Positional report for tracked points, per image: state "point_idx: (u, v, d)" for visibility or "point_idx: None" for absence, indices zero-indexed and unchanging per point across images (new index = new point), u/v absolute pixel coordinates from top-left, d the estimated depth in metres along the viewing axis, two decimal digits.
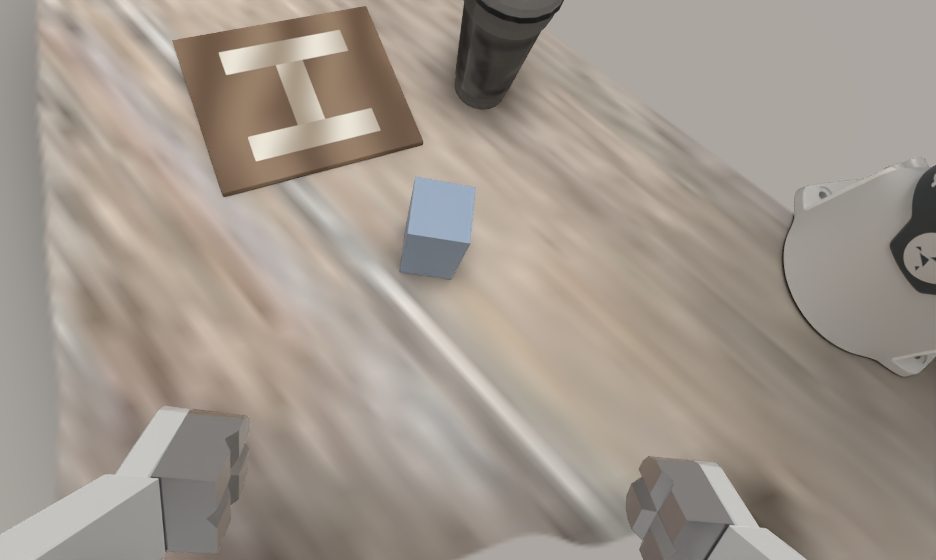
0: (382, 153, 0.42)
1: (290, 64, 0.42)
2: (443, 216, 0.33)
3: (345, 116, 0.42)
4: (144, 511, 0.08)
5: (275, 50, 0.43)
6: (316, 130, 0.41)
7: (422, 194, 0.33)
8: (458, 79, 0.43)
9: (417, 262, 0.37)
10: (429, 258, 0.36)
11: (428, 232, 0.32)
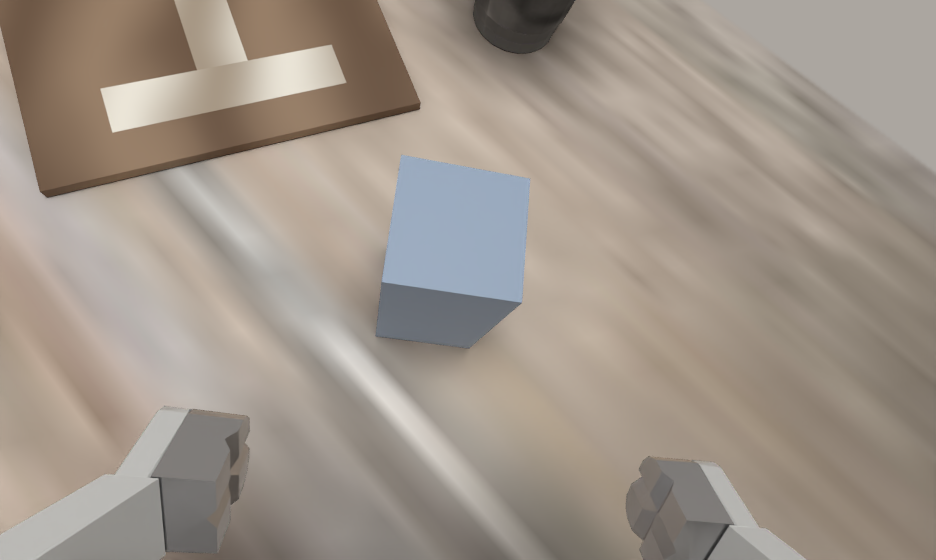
0: (349, 122, 0.24)
1: None
2: (461, 242, 0.15)
3: (284, 57, 0.24)
4: (144, 511, 0.08)
5: None
6: (230, 79, 0.23)
7: (415, 192, 0.15)
8: None
9: (406, 325, 0.19)
10: (431, 321, 0.18)
11: (429, 279, 0.14)
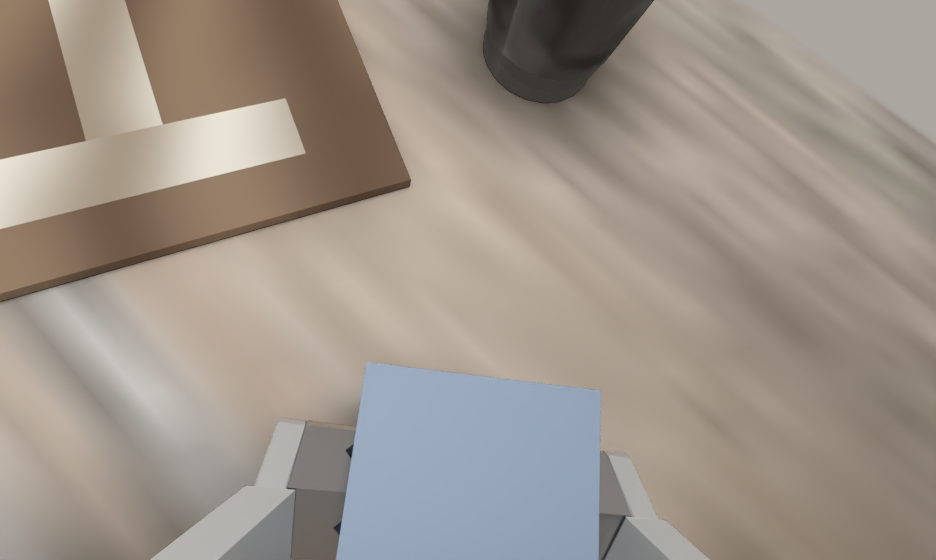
0: (308, 211, 0.17)
1: None
2: (479, 540, 0.08)
3: (217, 118, 0.17)
4: (282, 521, 0.08)
5: None
6: (135, 153, 0.16)
7: (392, 439, 0.08)
8: (495, 31, 0.18)
9: None
10: None
11: None
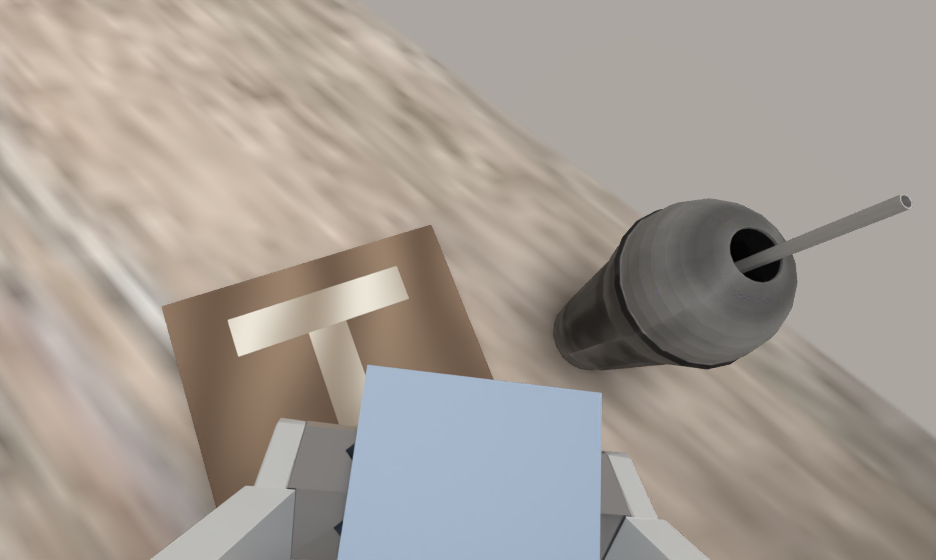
0: None
1: (329, 329, 0.30)
2: (481, 543, 0.08)
3: None
4: (282, 521, 0.08)
5: (308, 308, 0.30)
6: None
7: (393, 442, 0.08)
8: (565, 344, 0.31)
9: None
10: None
11: None
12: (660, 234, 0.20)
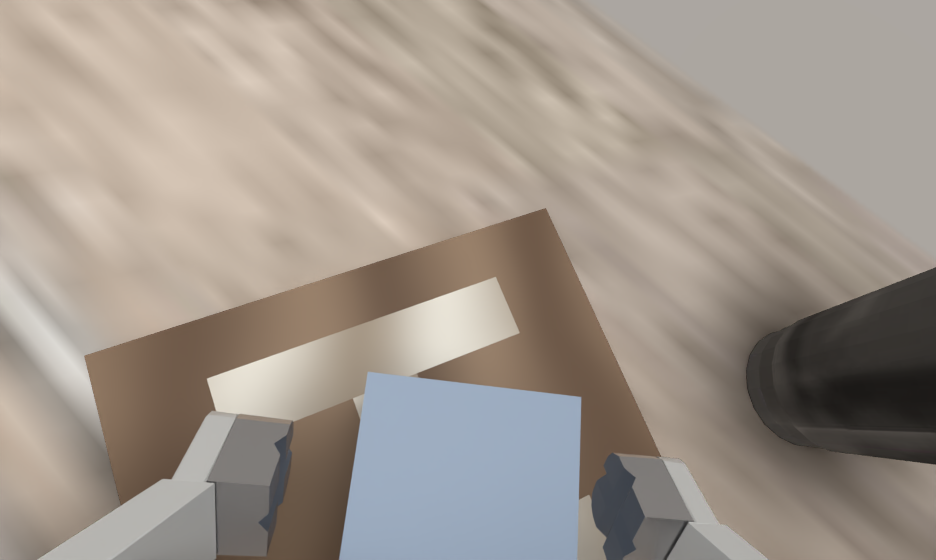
0: None
1: None
2: (470, 533, 0.09)
3: None
4: (200, 515, 0.08)
5: (350, 353, 0.17)
6: None
7: (391, 441, 0.09)
8: (791, 410, 0.18)
9: None
10: None
11: None
12: None
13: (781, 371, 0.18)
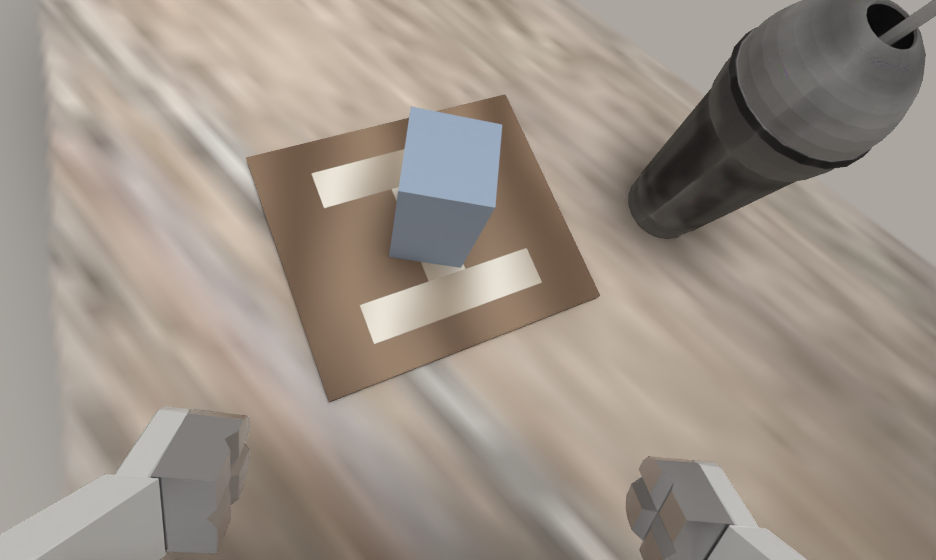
0: None
1: None
2: (453, 166, 0.21)
3: (492, 263, 0.29)
4: (144, 511, 0.08)
5: (389, 166, 0.30)
6: (454, 287, 0.28)
7: (421, 132, 0.22)
8: (646, 204, 0.31)
9: (413, 241, 0.26)
10: (431, 234, 0.25)
11: (430, 190, 0.21)
12: (786, 21, 0.20)
13: (641, 183, 0.31)
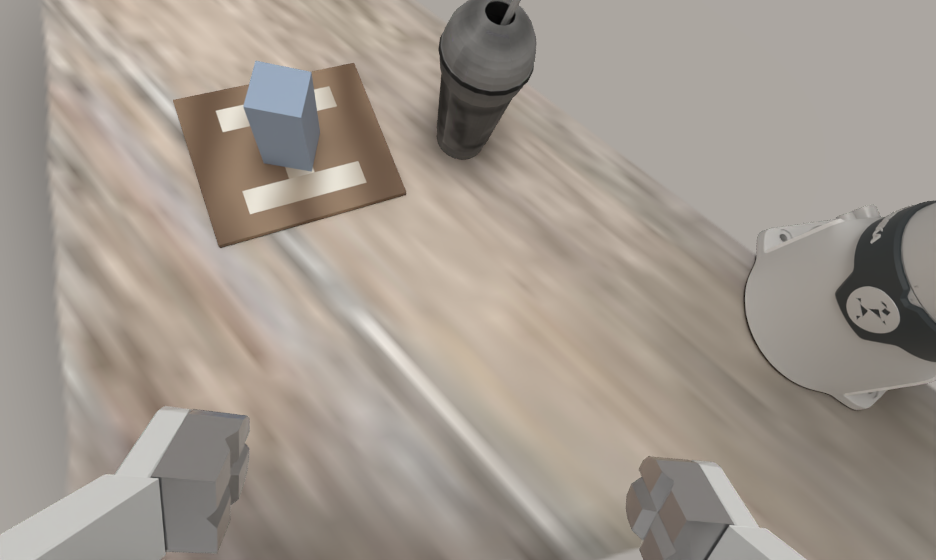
0: (368, 204, 0.45)
1: None
2: (278, 94, 0.37)
3: (333, 169, 0.45)
4: (144, 511, 0.08)
5: None
6: (306, 183, 0.44)
7: (260, 75, 0.38)
8: (439, 133, 0.47)
9: (271, 147, 0.42)
10: (278, 141, 0.41)
11: (262, 106, 0.37)
12: (456, 11, 0.36)
13: None
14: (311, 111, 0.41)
